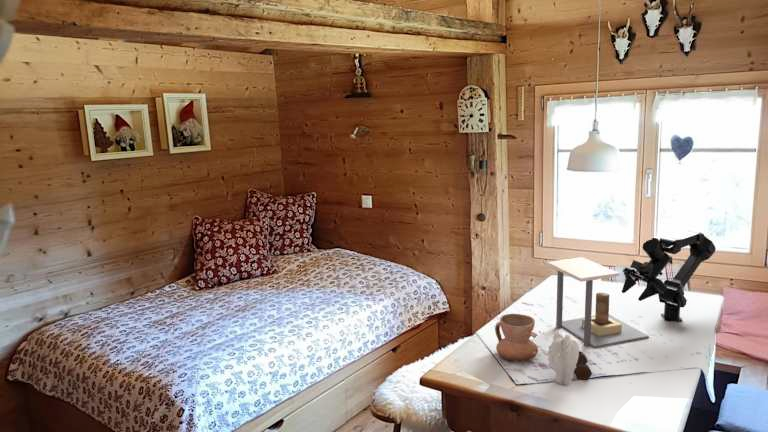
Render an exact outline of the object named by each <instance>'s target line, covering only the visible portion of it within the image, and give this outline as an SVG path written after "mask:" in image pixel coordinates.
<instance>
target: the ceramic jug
mask: <svg viewBox="0 0 768 432" xmlns="http://www.w3.org/2000/svg"><path fill="white" fill-rule="evenodd" d="M534 328H535V318H533V317H532V316H530V315H526V314H521V313H507V314H503V315H501V316H500V317H499V321H497V322H496V323H495V327H494V331H495V337H496V338H497V341H498V342H497V344H496V352H497V354H498V355H499V356H500V357H502V358H503V359H505V360H507V361H511V362H516V363H517V362H518V363H519V362H527V361H530V360H533V359H534V358H535V357H536V356H537V354H538V352H539V347H538V345H537V344H536V342H534V341H533V340H531V339H530V338H531V337H532V338H533V339H535V338H536V337H537V336H538V333H537V332H534V331H533V330H534ZM500 329H501V330H500ZM501 332H502V334H501ZM502 335H503V337H504V338H502Z"/></svg>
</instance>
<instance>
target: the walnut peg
mask: <svg viewBox="0 0 768 432" xmlns="http://www.w3.org/2000/svg"><path fill="white" fill-rule="evenodd" d="M609 315H610V294H609V293H607V292H597V293H595V314H594V316H595V323H596V324H598V325H599V326H602V325H607V324H608V318H609Z"/></svg>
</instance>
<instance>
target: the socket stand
mask: <svg viewBox="0 0 768 432" xmlns="http://www.w3.org/2000/svg"><path fill="white" fill-rule="evenodd" d="M546 266H549V267H550V268H552V269H554V270H556V271H557V278H556V279H557V282H556V283H557V284H556V285H557V286H556V287H557V288H556V315H555V316H556V317H555V318H556V321H555V326H556V328H558V329H564V330H565V331H567V332H568V333H570V334H571V335H573V336H575V337H577V338H578V339H580V340H581V341H583V345H584V346H585V347H592V348H593V349H596V348H597V349H598V348H601V347H608V346H612V344H613V345H618V343H619V344H622V343H628V342H629V343H630V342H633V341H634V340H635V341H638V340H639V341H640V340H645V339H649V338H650V335H649V334H646V333H645V332H643V331H641V330H639V329H637V328H635V327H633V326H632V325H629V324H628V323H626V322H624V321H622V320H620V319H618V318H617V317H614V316H613V315H611V314H609V318H608V324H607V325H602V326H599V325H598V324H596V323H595V315H592V307H593V305H592V304H593V283H594V281H595V280H602V279H606V278H615V277H619V276H620V272H619V271H616V270H614V269H610V268H608V267H607V266H604V265H601V264H599V263H596V262H594V261H592V260H590V259H587V258H585V257H581V256H579V257H574V258H567V259H566V258H565V259H559V260H551V261H546ZM564 275H566V276H568V277H571V278H573V279H574V280H576V281H579V282H585V297H584V299H585V301H584V304H585V305H584V317H580V318H579V317H578V318H573V319H569V320H563V310H564V309H563V308H564V307H563V305H564V304H563V301H564ZM583 326H584V328H583Z"/></svg>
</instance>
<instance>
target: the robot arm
mask: <svg viewBox="0 0 768 432" xmlns="http://www.w3.org/2000/svg"><path fill="white" fill-rule="evenodd" d="M685 247H689V255H688V257H687V258H686V260H685V261H684V263H683V264H682V266H681V267H680V269H678V271H677V273H676V274H675V275H674V276H673V278H672V279H671V280H669V279H665V280H664V281H662V279H659V278H657V277H659V276H662V275H663V270H664V269H665V268H666V267H667V265H668V264H670V265H673V256H671V255H677V254H678V253H680V252H681V251H682V248H685ZM716 249H717V248H716V246H715V244H714V242H713V241H712V240H710V239H709V238H708V237H707V236H706V235H705V234H704V233H702V232H700V231H695V230H691V231H688V232H686V233H683V234H681V235H677V236H675V237H673V236H672V237H671V236H661V237H660V238H657V237H652V238H651V239H648V240H646V241H645V242H644V243H643V245H642V250H643V252H644V253H645V254H646V255H647V257H648V258H649V259H650V260H649V261H644V262H643V263H642V262H640V261H637V260H635V259H633V260H632V263H631V265H630V266H625V267H624V268H623V270H622V272H623V275H624V277H625V279H624V283H623V287H622V290H621V293H622V294H625V293H626V292H628V291H629V290H631V289H632V288H633V287H634V286H635V285H636V284H637V282H638V281H641V282H644V283H646V287H645V288H644V290H643V291H642V293H641V294H640V295H639V297H638V299H637V300H638V301H639V302H641V301H644V300H646V299H649V298H651V297H653V296H656V295H658V300H659V303H662V304H664V307H663V313H660V316H661V317H662V318H663V319H664V321H666V322H667V321H669V322H670V321H671V322H674V321H675V322H682V321H683V318H682V317H681V308H685V307H686V305H687V301H688V300H687V298H686V297H685V288H684V287H685V286H686V285H687V283H688V282H689V280H690V279H691V278H692V276H693V275H694V274H695V272H696V270H697V269H698V267H699V266H700V265H701V263H703V262H705V261H707V260H709V259H710V258H711V257H712V256H713V254H715V252H716ZM669 254H670V255H669Z"/></svg>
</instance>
